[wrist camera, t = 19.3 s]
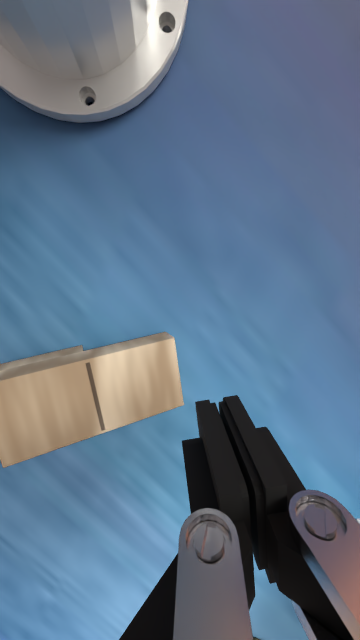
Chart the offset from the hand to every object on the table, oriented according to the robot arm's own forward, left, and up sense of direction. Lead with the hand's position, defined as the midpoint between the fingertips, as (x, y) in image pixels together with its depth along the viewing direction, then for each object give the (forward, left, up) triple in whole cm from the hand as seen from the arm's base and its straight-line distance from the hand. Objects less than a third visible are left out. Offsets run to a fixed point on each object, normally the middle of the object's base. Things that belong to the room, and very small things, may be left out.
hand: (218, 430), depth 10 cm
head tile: (+1, -1, -8) cm, 8 cm away
